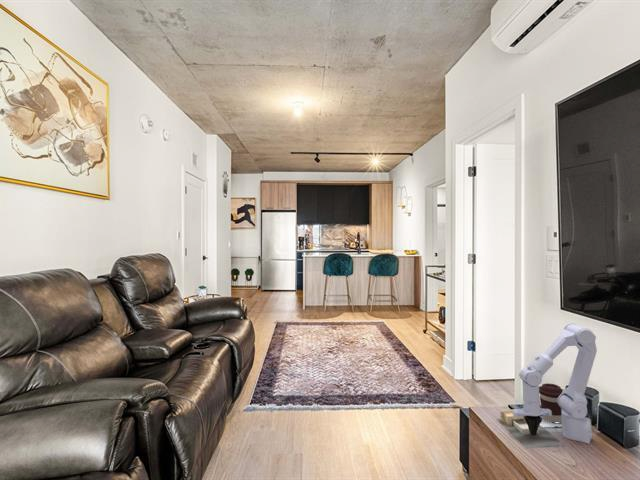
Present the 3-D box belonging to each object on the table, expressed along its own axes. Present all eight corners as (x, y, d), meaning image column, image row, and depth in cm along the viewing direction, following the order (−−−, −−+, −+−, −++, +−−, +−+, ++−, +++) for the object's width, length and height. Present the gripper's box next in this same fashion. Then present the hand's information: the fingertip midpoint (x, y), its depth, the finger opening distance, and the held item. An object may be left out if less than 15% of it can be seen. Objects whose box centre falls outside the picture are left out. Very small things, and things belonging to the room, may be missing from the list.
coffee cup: (534, 419, 161) (533, 385, 161) (548, 413, 165) (546, 380, 165) (558, 429, 152) (556, 392, 152) (571, 422, 157) (570, 387, 157)
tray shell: (539, 434, 147) (539, 428, 147) (523, 434, 147) (523, 429, 147) (522, 419, 159) (521, 415, 159) (507, 420, 159) (507, 416, 159)
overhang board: (566, 448, 138) (565, 434, 138) (526, 450, 138) (525, 436, 138) (529, 419, 161) (529, 407, 161) (495, 420, 161) (495, 409, 161)
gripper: (542, 394, 151) (544, 428, 150) (507, 396, 150) (509, 430, 150) (554, 401, 144) (556, 437, 143) (517, 403, 143) (519, 439, 143)
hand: (533, 434), depth 146 cm, fingers closed, pressing on tray shell
